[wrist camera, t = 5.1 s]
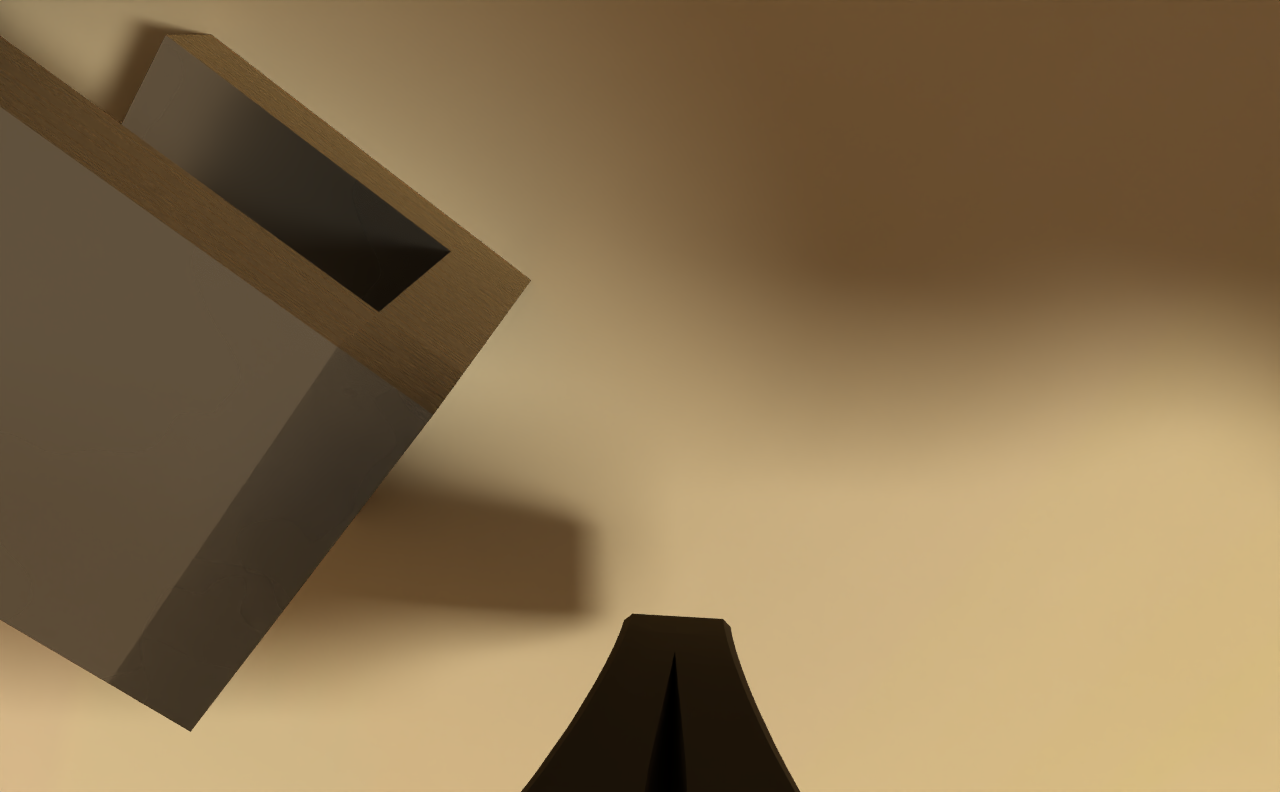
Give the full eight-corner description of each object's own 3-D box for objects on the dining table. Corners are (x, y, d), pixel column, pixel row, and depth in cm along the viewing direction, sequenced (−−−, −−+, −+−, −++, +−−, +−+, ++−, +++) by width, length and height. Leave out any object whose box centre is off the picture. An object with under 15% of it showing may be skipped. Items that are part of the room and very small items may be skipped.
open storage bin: (531, 279, 12) (433, 415, 8) (350, 516, 13) (191, 731, 9) (212, 34, 11) (-99, 36, 7) (62, 324, 13) (-257, 469, 8)
